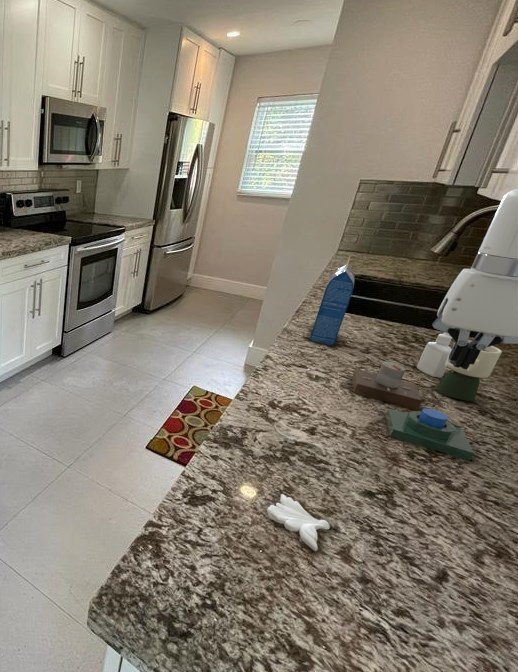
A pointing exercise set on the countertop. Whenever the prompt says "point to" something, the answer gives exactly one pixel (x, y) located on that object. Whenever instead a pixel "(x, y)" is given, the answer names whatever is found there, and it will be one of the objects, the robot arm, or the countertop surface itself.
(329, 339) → the blue food package
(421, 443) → the push cap base
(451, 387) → the character mug
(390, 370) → the dial
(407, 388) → the knob console
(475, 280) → the robot arm
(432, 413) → the push cap
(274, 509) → the acanthus leaf ornament
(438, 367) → the eye dropper bottle
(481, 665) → the countertop surface
